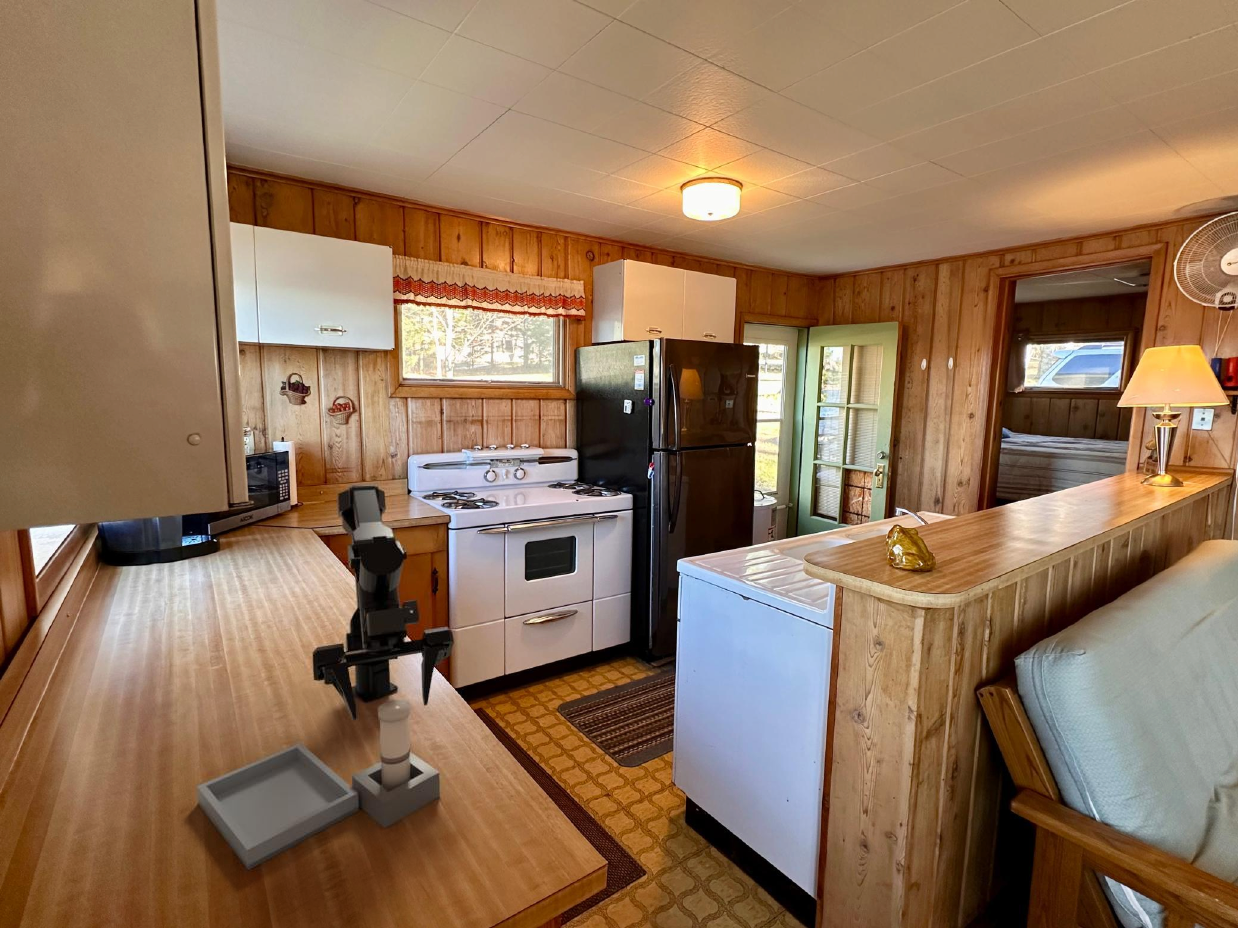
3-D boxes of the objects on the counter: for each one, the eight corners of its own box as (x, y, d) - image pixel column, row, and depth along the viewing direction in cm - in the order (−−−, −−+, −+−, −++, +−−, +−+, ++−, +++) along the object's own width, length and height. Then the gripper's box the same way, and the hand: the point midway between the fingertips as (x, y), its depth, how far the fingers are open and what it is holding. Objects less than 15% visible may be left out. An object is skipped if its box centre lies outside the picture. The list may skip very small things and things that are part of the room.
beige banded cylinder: (374, 799, 81) (372, 707, 80) (402, 784, 84) (399, 696, 83) (390, 812, 79) (388, 718, 77) (418, 797, 82) (416, 706, 80)
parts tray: (198, 803, 80) (196, 785, 79) (300, 758, 90) (300, 742, 89) (248, 869, 69) (247, 849, 69) (358, 810, 79) (358, 792, 79)
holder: (352, 800, 81) (352, 775, 81) (407, 771, 87) (406, 749, 87) (384, 828, 76) (383, 802, 76) (439, 796, 82) (439, 772, 82)
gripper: (309, 591, 82) (314, 706, 74) (450, 574, 91) (468, 676, 82) (311, 627, 90) (315, 735, 81) (440, 608, 98) (456, 704, 90)
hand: (391, 711), depth 83 cm, fingers open, 9 cm apart
